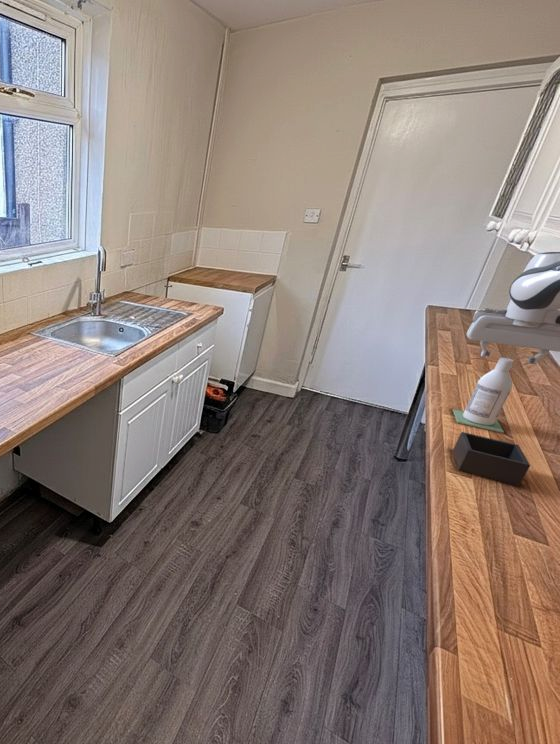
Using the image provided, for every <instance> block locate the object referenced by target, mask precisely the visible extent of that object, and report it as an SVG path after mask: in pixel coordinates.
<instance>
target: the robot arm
mask: <svg viewBox="0 0 560 744" xmlns="http://www.w3.org/2000/svg"><path fill="white" fill-rule="evenodd" d="M508 294H509V297H510V300H509V302H508V304H507V306H506V309H498V308H497V309H494V308H493V309H492V308H486V307H484V308H482V309H478V310H476V311H475V312H474V313H473V315H472V317H471V321H472V323H471V324H470V326H469V328H468V329H467V332H466V336H467V338H468V339H469V340H471V341H475V342H479V345H480V347H481V350H482V351H481V352H480V357H482V358H483V357H484V358H490V355H491V353H492V352H491V350H489V349H487V347H488V346H489V345H490V343H492V344H498V345H507V346H512V347H513V346H514V347H520V348H528V349H537V350H538V351H537V352H538V353H537V354H535V355H534V356H532V355H529V356H528V359H527V360H526V363H527V364H528V365H529V364H530V365H537V363H538V361H539V360H540V359H542V358H543V357H545V356H547V355H549V352H559V353H560V251H547V252H540V253H538V254H535V255H534V256H533V257H532V258H531V259H530V260H529V261H528V263H527V265H526V266H525V268H524V270H523V271H522V272H521V273H520V274H519V275H518V276H517V277H515V279H514V280H513V281H512V283H511V284H510V286H509V290H508ZM486 346H487V347H486Z"/></svg>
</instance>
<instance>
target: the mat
mask: <svg viewBox="0 0 560 744" xmlns="http://www.w3.org/2000/svg"><path fill="white" fill-rule="evenodd" d="M464 411H465V410H461V409H460V410H459V409H456V408H455V409H454V408H453V409H452V412H453V415H454V418H455V420H456V423H457V424H461V425H465V426H470V427H475V428H478V429H483V430H487V431H491V432H497V433H501V434H504V433H505V431H504V429H503V427H502V426H501V423H500V422H499V420H498V418H497V419H496V421H495V423H494V424H492V425H482V424H477V423H474V422H471V421H469V420H467V419H465V418H464V417H463V413H464Z"/></svg>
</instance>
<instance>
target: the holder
mask: <svg viewBox="0 0 560 744" xmlns="http://www.w3.org/2000/svg"><path fill="white" fill-rule="evenodd" d="M452 454H453V456H454V459H455V463H456V466H457V469H458V471H460V472H464V473H468V474H472V475H476V476H479V477H482V478H487V479H490V480H494V481H497V482H502V483H505V484H509V485H512V486H515V487H519V486H520V484H521V483H522V481H523V479H524V478H525V476H526V474H527V472H528V471H529V469H530V468H531V464H530V462H529V460H528V459H527V457H526V455H525V454H524V452H523V450H522V449H521V447H520V445H519V444H517V443H512V442H508V441H503V440H499V439H495V438H490V437H486V436H482V435H477V434H473V433H468V432H464V431H461V432H460V434H459V437H457V440H456V442H455V445H454V447H453V449H452Z"/></svg>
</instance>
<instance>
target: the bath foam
mask: <svg viewBox="0 0 560 744" xmlns="http://www.w3.org/2000/svg"><path fill="white" fill-rule="evenodd" d="M514 362H515V360H514V359H512V358H509V357H499V359H498V361H497V363H496V365H495V367H494V369H492V370H490V371H488V372H486V373H485V374H484V375H483V376H481V377H480V378H479V379H478V381H477V383H476V385H475V388H474V389H473V391H472V394H471V396H470V398H469V400H468V402H467V405H466V406H465V409H464V410H463V411H464V413H463V417H464V418H465V419H467V420H469V421H471V422H474V423H477V424H482V425H492V424H494V423H495V421H496V419H497V420H498V417H499V415H500V413H501V411H502V409H503V407H504V405H505V403H506V401H507V399H508V398H509V395H510V393H511V392H512V388H513V379H512V377H511V375H510V371H511V368H512V367H513V364H514Z"/></svg>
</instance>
